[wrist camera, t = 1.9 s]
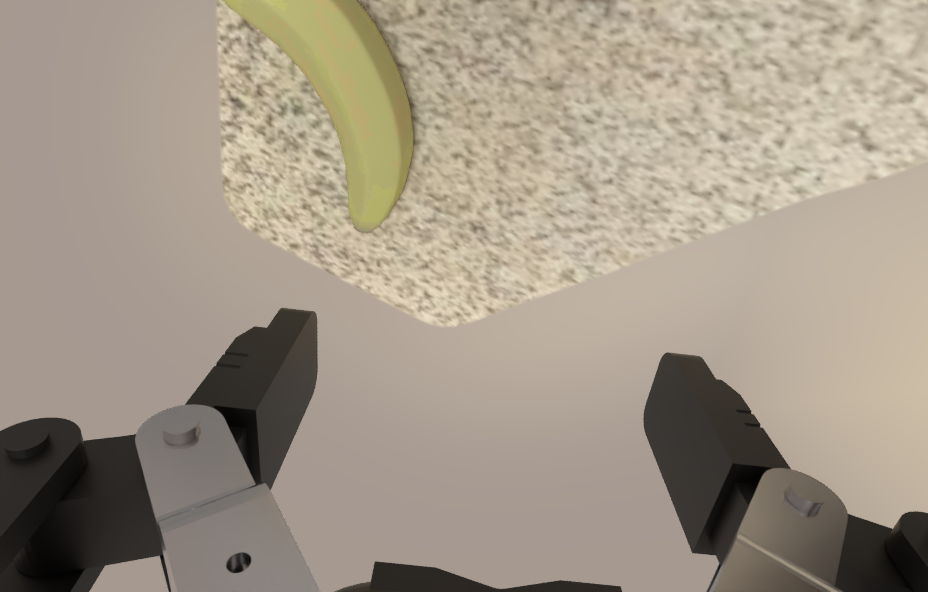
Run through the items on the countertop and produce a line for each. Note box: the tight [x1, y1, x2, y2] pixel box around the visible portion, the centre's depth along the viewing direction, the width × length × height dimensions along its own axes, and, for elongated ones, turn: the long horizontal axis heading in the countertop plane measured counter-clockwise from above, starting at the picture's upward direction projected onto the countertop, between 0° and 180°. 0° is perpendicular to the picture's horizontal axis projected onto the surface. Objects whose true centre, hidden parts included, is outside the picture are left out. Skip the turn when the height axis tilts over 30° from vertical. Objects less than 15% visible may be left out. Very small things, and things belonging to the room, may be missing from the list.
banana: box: [223, 0, 413, 233], centre depth 36 cm, size 14×6×20 cm
